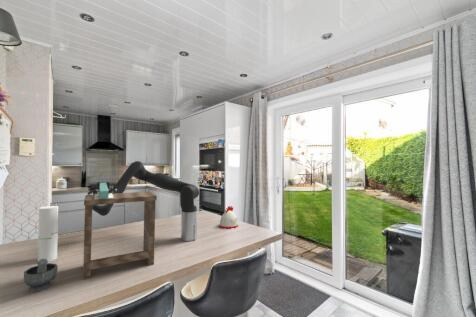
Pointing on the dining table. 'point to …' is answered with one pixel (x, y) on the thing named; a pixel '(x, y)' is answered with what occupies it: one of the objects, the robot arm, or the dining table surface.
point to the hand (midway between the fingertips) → (103, 183)
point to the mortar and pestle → (40, 275)
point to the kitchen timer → (228, 219)
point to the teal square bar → (103, 190)
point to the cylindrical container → (48, 233)
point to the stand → (148, 230)
